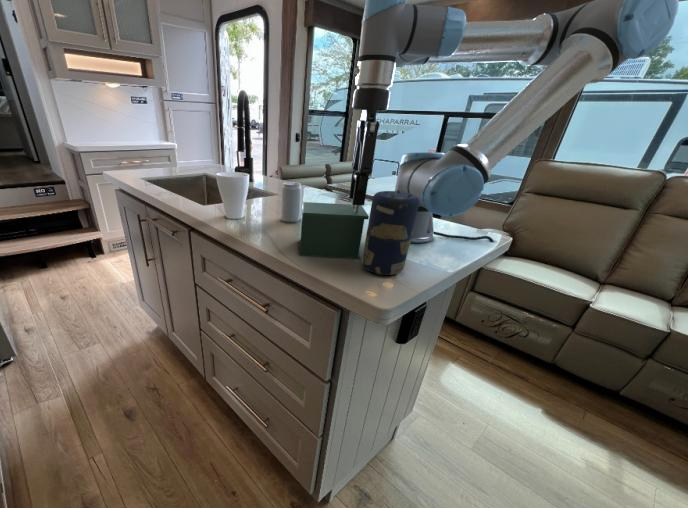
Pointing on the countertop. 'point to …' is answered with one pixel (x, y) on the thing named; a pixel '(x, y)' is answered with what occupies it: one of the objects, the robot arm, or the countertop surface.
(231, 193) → the cup
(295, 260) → the countertop surface
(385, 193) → the canister
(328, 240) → the chest
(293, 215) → the beverage can
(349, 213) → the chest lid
